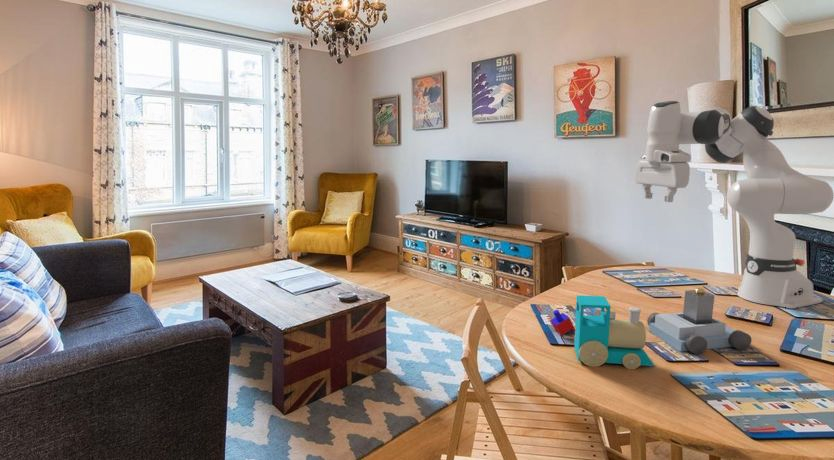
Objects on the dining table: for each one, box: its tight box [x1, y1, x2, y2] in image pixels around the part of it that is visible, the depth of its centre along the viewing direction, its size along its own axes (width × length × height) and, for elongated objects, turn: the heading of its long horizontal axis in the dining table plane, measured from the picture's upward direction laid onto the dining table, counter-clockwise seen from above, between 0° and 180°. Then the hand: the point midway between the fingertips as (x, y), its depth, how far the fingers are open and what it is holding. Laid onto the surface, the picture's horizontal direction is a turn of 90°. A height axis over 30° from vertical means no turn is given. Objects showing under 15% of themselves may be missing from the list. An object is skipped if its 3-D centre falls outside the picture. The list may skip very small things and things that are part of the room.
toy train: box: [573, 294, 655, 370], centre depth 102 cm, size 8×17×15 cm, turn 78°
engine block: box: [682, 287, 715, 325], centre depth 112 cm, size 4×4×11 cm
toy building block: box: [550, 309, 575, 336], centre depth 119 cm, size 4×4×8 cm
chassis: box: [646, 312, 752, 355], centre depth 113 cm, size 18×16×6 cm
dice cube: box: [592, 308, 616, 320], centre depth 119 cm, size 5×5×5 cm
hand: (658, 200), depth 135 cm, fingers open, 8 cm apart
